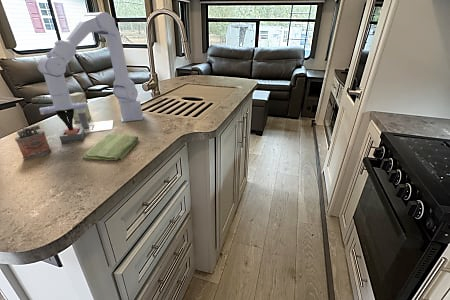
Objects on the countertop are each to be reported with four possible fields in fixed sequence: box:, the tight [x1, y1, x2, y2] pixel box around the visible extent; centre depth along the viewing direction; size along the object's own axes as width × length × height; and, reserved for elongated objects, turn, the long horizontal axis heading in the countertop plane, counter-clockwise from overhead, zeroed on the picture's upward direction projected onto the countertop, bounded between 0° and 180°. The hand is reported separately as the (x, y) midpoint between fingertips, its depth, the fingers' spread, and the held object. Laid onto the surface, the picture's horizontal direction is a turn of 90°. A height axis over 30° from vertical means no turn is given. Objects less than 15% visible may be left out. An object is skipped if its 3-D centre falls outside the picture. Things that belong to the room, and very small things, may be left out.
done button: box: [64, 127, 78, 135], centre depth 91 cm, size 4×4×2 cm
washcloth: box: [82, 133, 139, 161], centre depth 84 cm, size 13×18×3 cm
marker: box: [77, 109, 89, 129], centre depth 99 cm, size 3×3×9 cm
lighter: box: [14, 124, 52, 162], centre depth 78 cm, size 8×3×10 cm, turn 148°
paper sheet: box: [73, 119, 114, 134], centre depth 103 cm, size 17×12×1 cm
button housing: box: [59, 127, 86, 145], centre depth 92 cm, size 7×7×3 cm
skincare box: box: [70, 91, 92, 122], centre depth 110 cm, size 6×4×12 cm
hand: (71, 129), depth 90 cm, fingers closed, pressing on done button
